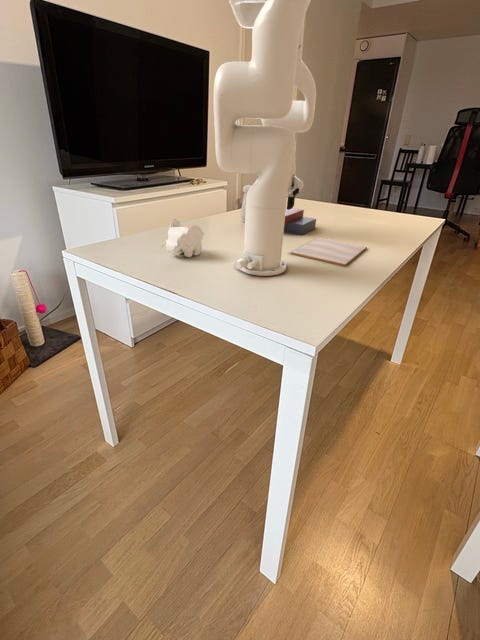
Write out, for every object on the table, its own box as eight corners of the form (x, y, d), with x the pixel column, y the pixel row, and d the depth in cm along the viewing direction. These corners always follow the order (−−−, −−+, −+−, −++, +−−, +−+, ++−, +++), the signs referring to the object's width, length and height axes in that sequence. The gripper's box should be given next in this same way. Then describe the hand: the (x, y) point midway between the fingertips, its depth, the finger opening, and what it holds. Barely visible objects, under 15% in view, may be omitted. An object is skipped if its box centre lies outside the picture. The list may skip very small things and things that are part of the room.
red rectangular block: (280, 225, 113) (281, 217, 112) (263, 222, 116) (263, 214, 115) (303, 216, 127) (303, 209, 125) (287, 214, 130) (288, 207, 128)
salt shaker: (253, 224, 129) (255, 187, 122) (238, 222, 129) (239, 186, 123) (255, 220, 134) (257, 185, 127) (241, 219, 134) (242, 184, 128)
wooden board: (345, 266, 91) (345, 264, 91) (290, 254, 98) (291, 252, 98) (366, 248, 106) (366, 246, 105) (317, 239, 113) (318, 237, 113)
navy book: (301, 235, 117) (302, 224, 115) (258, 226, 125) (259, 217, 123) (315, 228, 126) (316, 218, 124) (274, 221, 134) (275, 212, 132)
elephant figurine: (155, 255, 94) (152, 222, 89) (189, 246, 101) (188, 215, 97) (177, 264, 88) (175, 229, 84) (211, 254, 96) (211, 222, 91)
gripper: (251, 148, 107) (249, 204, 116) (301, 152, 99) (295, 212, 108) (263, 147, 113) (260, 201, 121) (312, 151, 105) (305, 208, 113)
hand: (276, 206), depth 115 cm, fingers open, 9 cm apart
